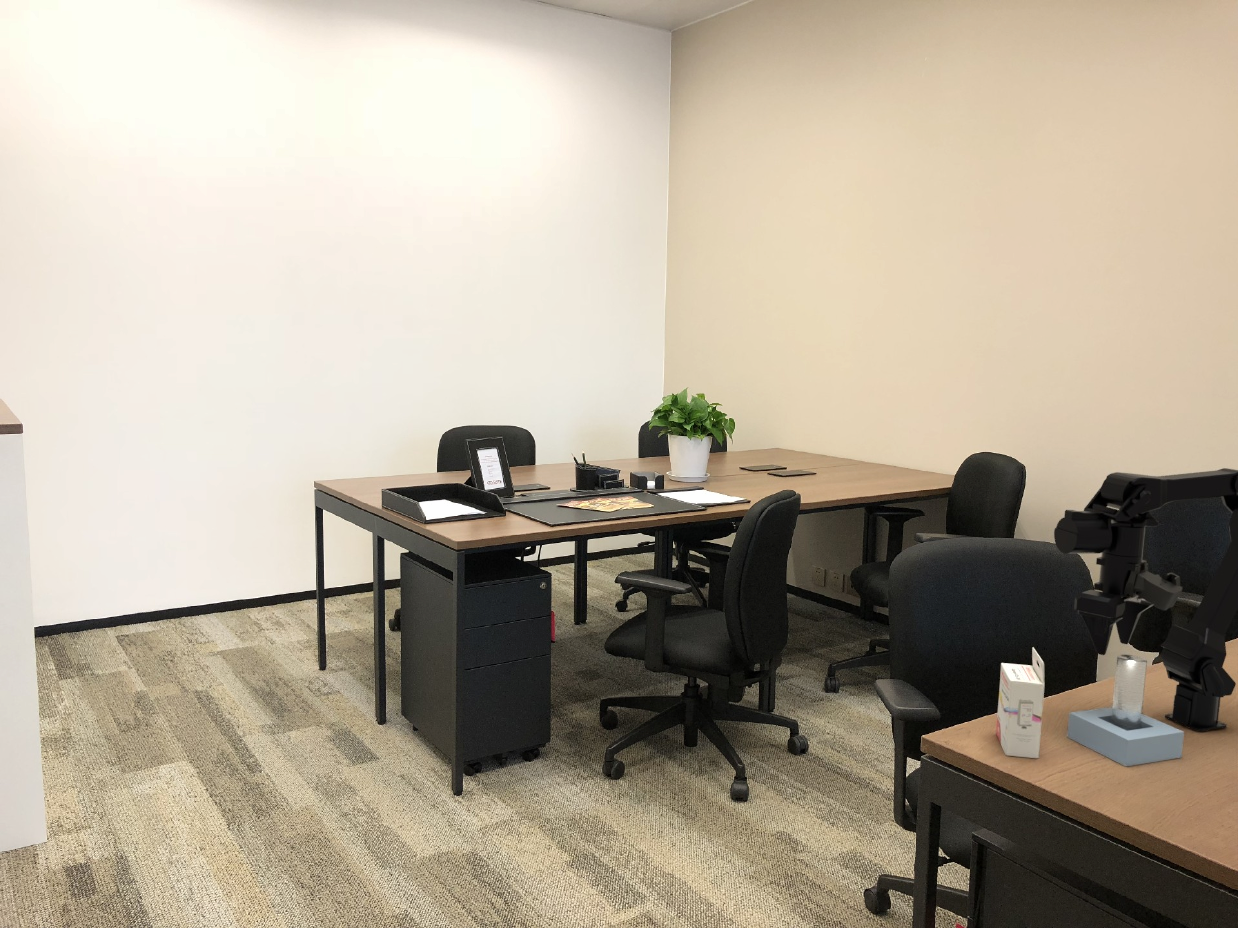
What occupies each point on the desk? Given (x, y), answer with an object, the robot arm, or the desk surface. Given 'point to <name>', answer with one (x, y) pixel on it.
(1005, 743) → the ink cartridge box
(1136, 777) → the desk surface
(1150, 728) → the bracket block
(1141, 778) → the desk surface
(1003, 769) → the desk surface
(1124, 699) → the silver tall cylinder
